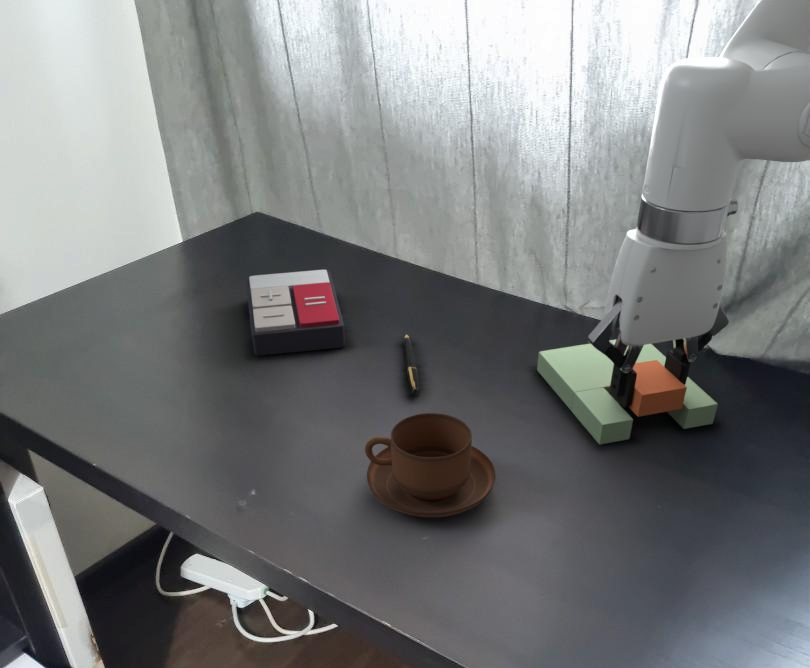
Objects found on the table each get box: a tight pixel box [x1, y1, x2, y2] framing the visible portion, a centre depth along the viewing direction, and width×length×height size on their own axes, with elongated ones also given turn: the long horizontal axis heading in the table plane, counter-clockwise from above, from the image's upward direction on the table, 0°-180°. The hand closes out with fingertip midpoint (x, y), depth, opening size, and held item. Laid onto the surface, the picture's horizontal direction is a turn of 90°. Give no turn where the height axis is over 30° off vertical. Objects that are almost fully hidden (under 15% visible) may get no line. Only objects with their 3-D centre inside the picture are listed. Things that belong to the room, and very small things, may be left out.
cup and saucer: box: [364, 412, 496, 519], centre depth 76 cm, size 12×12×6 cm
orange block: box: [628, 360, 687, 417], centre depth 85 cm, size 5×6×2 cm
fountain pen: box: [403, 333, 420, 396], centre depth 96 cm, size 14×1×2 cm, turn 4°
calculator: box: [245, 269, 346, 357], centre depth 104 cm, size 11×4×15 cm
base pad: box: [536, 338, 719, 445], centre depth 90 cm, size 13×16×2 cm
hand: (646, 394), depth 85 cm, fingers closed on orange block, 5 cm apart
